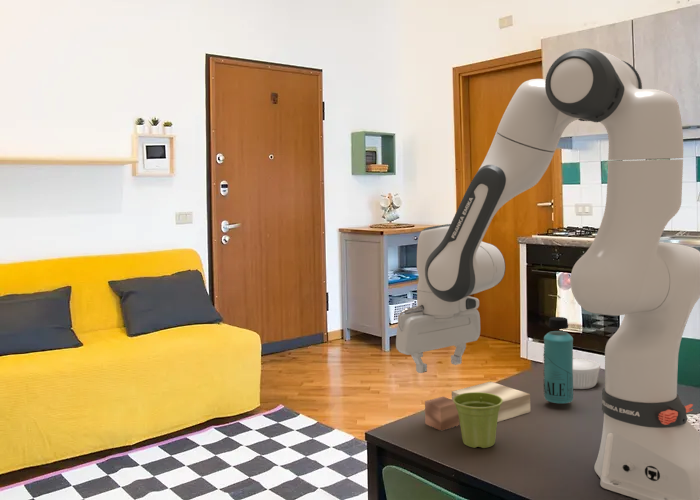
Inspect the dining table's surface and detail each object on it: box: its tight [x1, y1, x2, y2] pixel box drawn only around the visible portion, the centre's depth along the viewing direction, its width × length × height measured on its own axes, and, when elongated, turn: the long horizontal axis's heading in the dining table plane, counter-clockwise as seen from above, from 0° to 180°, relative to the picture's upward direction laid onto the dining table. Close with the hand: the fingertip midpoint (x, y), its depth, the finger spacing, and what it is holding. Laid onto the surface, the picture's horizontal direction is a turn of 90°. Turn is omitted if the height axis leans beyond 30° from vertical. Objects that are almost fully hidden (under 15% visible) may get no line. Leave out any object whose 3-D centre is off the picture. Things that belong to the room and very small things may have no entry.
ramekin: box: [573, 357, 601, 390], centre depth 160 cm, size 11×11×5 cm
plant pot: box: [453, 392, 503, 449], centre depth 125 cm, size 9×9×9 cm
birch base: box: [451, 381, 531, 423], centre depth 143 cm, size 12×12×4 cm
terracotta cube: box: [424, 396, 460, 431], centre depth 136 cm, size 5×5×5 cm
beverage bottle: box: [542, 316, 574, 404], centre depth 144 cm, size 6×7×20 cm
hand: (439, 367), depth 135 cm, fingers open, 8 cm apart
